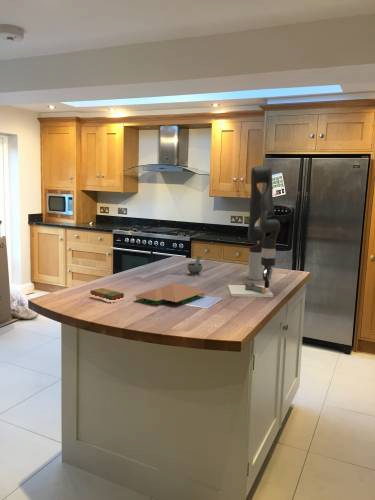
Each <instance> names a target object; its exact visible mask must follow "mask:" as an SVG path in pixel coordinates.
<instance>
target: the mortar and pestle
mask: <svg viewBox="0 0 375 500" xmlns="http://www.w3.org/2000/svg"><path fill="white" fill-rule="evenodd" d="M201 258H202V257H201V256H200V255H197V256H196V259H195V262H190V263H186V264H187V270H188V272H189V276H191V275H199V276H200V272H201V271H202V270H203V264H202V263H200V262H201V261H200V260H201Z"/></svg>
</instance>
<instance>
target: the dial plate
mask: <svg viewBox="0 0 375 500" xmlns="http://www.w3.org/2000/svg"><path fill="white" fill-rule="evenodd" d="M256 286H259V287H262V288H265V285H257V284H256ZM227 289H228V292H229V293H230V296H231V297H236V298H237V297H238V298H239V297H241V298H242V297H243V298H248V297H249V298H274V294H273V292H272V291H271V289H269V288H266V290H265V293H261V292H258V291H254V290H246V289H245V284H227Z"/></svg>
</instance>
